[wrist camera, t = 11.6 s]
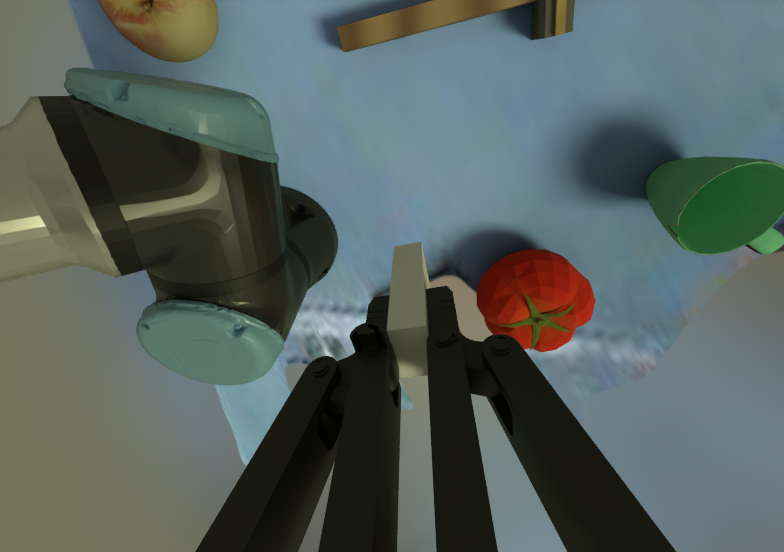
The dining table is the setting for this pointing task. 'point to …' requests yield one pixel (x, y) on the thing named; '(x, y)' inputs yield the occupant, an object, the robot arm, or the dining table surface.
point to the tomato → (535, 299)
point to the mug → (719, 203)
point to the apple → (166, 26)
